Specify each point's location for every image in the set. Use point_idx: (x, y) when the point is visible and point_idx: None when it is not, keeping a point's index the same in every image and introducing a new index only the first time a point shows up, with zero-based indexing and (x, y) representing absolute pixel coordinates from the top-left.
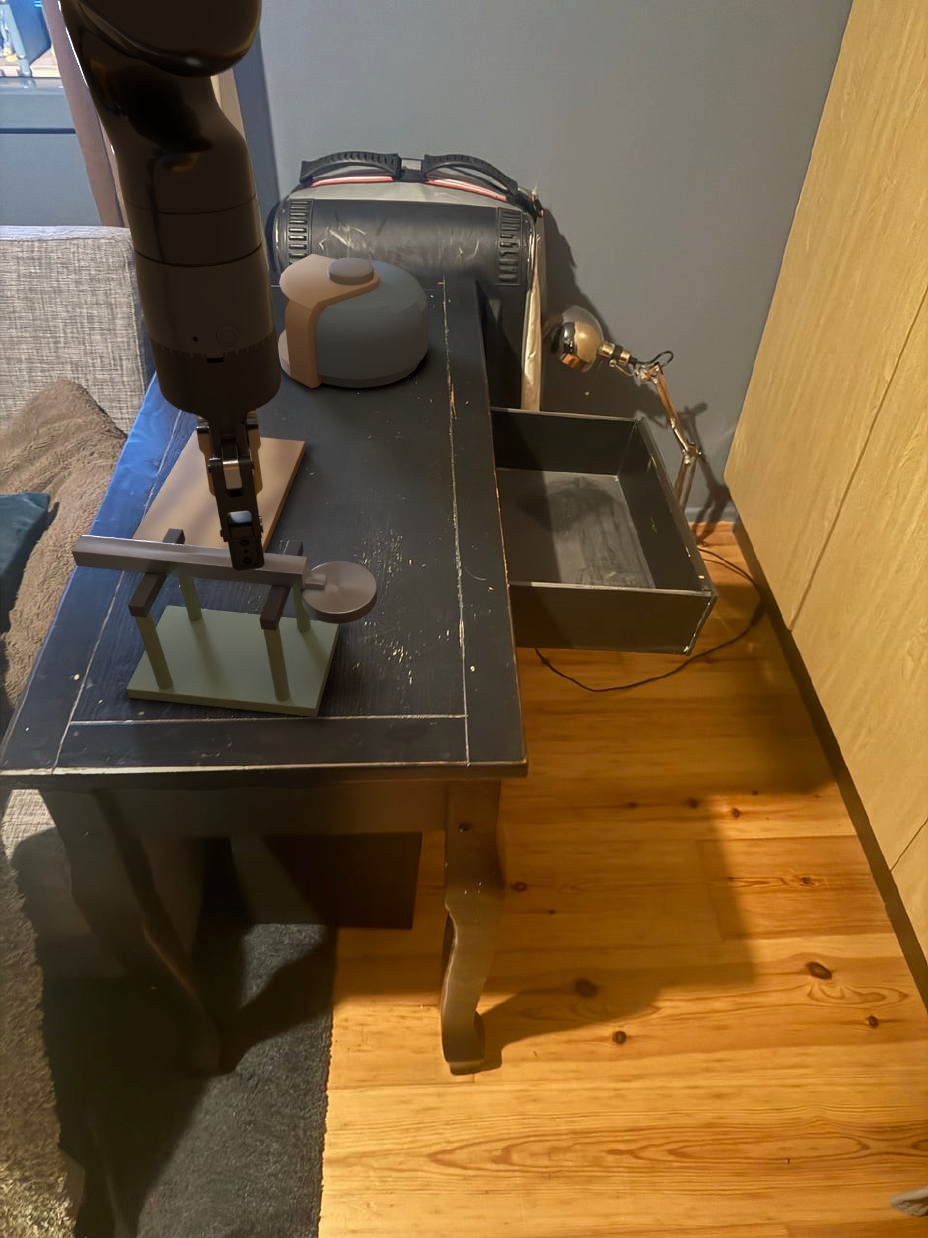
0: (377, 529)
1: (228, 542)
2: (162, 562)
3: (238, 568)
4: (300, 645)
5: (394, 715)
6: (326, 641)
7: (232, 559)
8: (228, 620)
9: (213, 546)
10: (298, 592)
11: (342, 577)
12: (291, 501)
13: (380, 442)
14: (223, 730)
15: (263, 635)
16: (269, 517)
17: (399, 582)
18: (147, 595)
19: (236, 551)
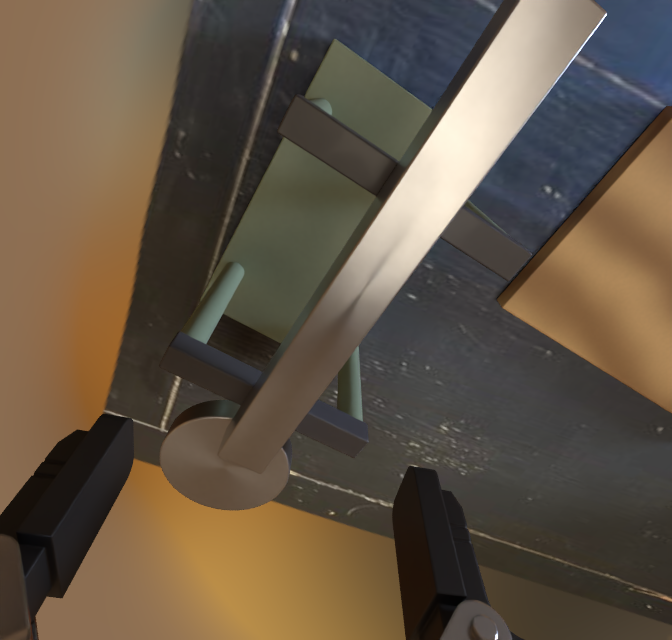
0: (493, 457)
1: (50, 486)
2: (369, 221)
3: (75, 431)
4: None
5: None
6: None
7: (87, 437)
8: None
9: (591, 266)
10: (339, 375)
11: (243, 477)
12: (622, 389)
13: (654, 514)
14: (219, 173)
15: None
16: (598, 359)
17: (387, 445)
18: (312, 152)
19: (26, 485)
